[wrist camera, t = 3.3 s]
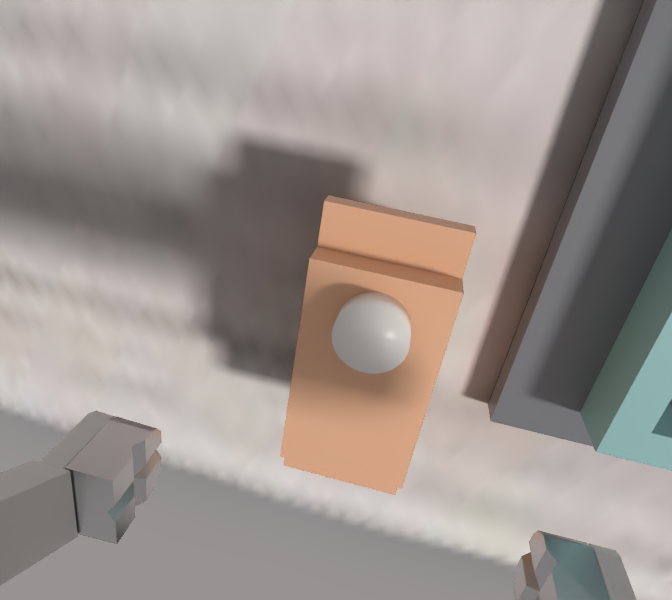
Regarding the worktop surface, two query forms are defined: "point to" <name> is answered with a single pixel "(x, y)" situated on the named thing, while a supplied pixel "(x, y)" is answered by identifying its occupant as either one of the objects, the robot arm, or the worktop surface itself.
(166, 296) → the worktop surface
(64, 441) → the robot arm
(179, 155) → the worktop surface
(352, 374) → the block
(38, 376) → the worktop surface
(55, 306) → the worktop surface
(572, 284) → the plate
